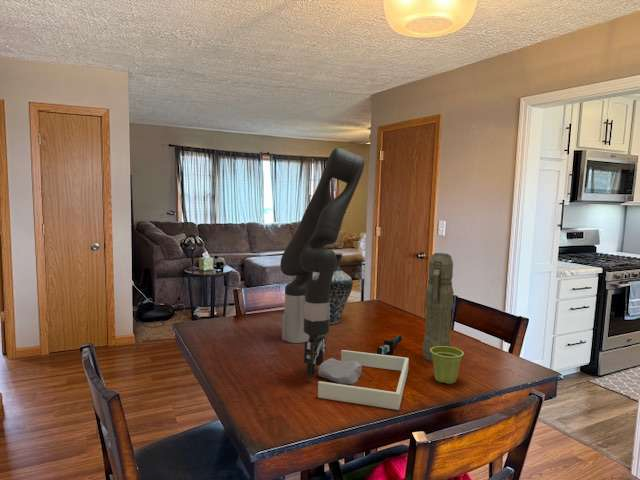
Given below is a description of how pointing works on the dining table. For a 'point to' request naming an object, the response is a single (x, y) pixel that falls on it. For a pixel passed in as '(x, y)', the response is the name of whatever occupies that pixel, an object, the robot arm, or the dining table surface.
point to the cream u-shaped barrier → (367, 394)
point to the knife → (389, 346)
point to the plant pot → (446, 363)
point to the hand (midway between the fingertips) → (315, 370)
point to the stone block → (340, 371)
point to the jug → (337, 290)
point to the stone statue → (438, 303)
